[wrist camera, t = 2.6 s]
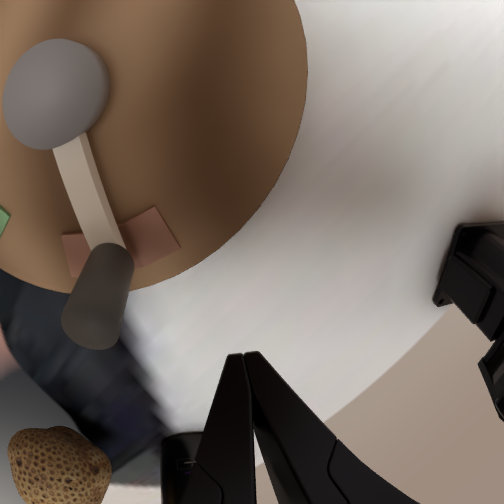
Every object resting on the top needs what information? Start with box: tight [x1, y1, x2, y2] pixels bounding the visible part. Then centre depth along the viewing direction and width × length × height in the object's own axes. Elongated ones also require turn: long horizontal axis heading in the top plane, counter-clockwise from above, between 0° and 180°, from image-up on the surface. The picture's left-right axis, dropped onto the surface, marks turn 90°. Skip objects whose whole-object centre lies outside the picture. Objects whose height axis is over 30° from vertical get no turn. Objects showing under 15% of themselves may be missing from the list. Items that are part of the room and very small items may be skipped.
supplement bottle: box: [160, 433, 203, 504], centre depth 20 cm, size 7×7×12 cm
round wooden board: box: [0, 0, 308, 293], centre depth 10 cm, size 19×19×1 cm
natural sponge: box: [8, 426, 112, 504], centre depth 17 cm, size 9×9×10 cm
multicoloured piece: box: [2, 39, 135, 350], centre depth 9 cm, size 10×4×5 cm, turn 10°
